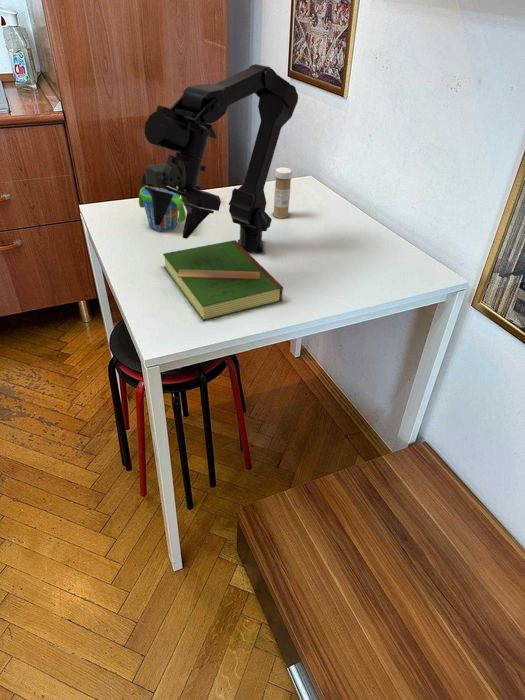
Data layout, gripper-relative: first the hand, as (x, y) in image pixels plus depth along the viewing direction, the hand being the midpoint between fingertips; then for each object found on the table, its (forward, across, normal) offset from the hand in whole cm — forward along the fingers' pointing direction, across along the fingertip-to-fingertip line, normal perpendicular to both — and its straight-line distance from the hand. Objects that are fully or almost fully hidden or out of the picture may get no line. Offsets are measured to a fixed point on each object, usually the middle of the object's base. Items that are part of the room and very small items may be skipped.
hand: (170, 231), depth 106 cm
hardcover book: (+9, +5, +13) cm, 17 cm away
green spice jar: (-2, -35, +36) cm, 50 cm away
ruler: (+6, +8, +10) cm, 14 cm away
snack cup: (+5, -27, +22) cm, 35 cm away
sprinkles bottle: (-7, -11, +50) cm, 51 cm away
